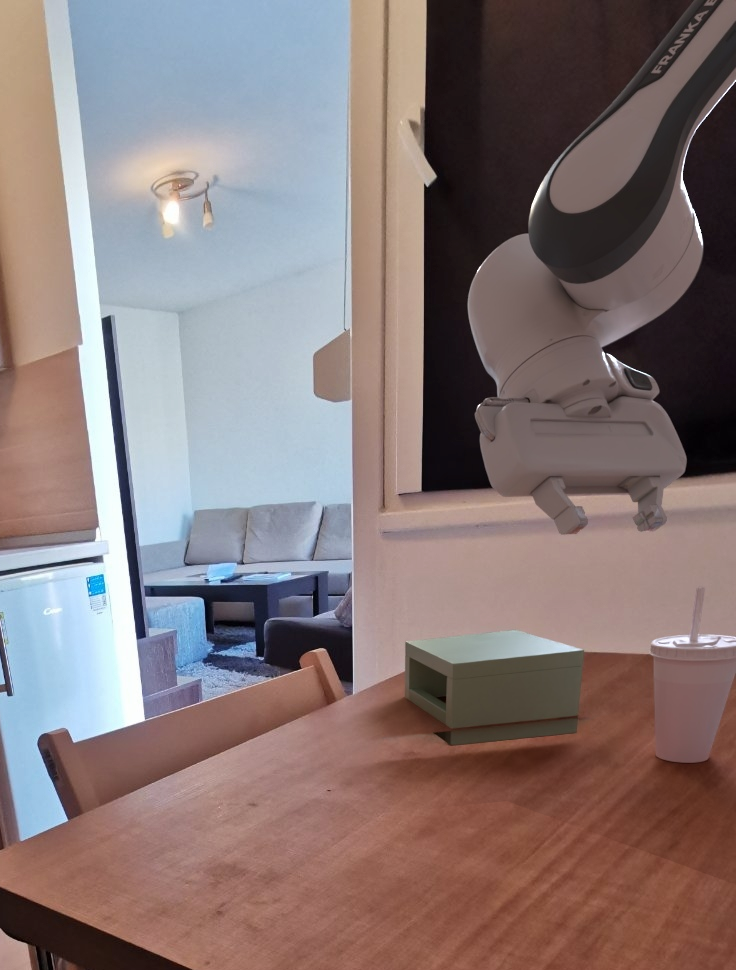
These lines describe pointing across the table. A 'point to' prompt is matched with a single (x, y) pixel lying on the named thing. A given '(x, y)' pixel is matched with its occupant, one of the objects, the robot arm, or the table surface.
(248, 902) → the table surface
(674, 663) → the smoothie
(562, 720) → the shelf
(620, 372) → the robot arm
